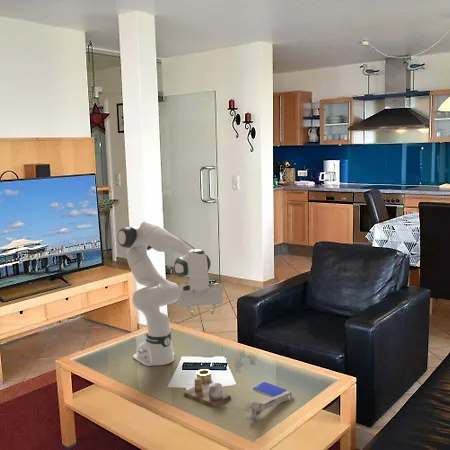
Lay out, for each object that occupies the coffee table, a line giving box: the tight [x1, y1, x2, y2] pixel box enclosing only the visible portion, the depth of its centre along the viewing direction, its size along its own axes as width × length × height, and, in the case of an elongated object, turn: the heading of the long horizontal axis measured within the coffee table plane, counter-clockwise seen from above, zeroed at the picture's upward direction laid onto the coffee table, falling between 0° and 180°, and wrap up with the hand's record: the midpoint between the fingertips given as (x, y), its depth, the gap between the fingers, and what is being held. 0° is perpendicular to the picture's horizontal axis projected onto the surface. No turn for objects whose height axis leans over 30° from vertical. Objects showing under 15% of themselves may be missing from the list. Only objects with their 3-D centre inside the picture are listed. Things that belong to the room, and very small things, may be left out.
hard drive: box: [252, 381, 288, 398], centre depth 237 cm, size 2×8×12 cm
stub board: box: [183, 377, 232, 408], centre depth 232 cm, size 18×10×6 cm, turn 49°
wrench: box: [244, 390, 293, 421], centre depth 219 cm, size 8×2×30 cm
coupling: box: [196, 368, 212, 385], centre depth 249 cm, size 6×6×4 cm
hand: (202, 314), depth 248 cm, fingers open, 8 cm apart
